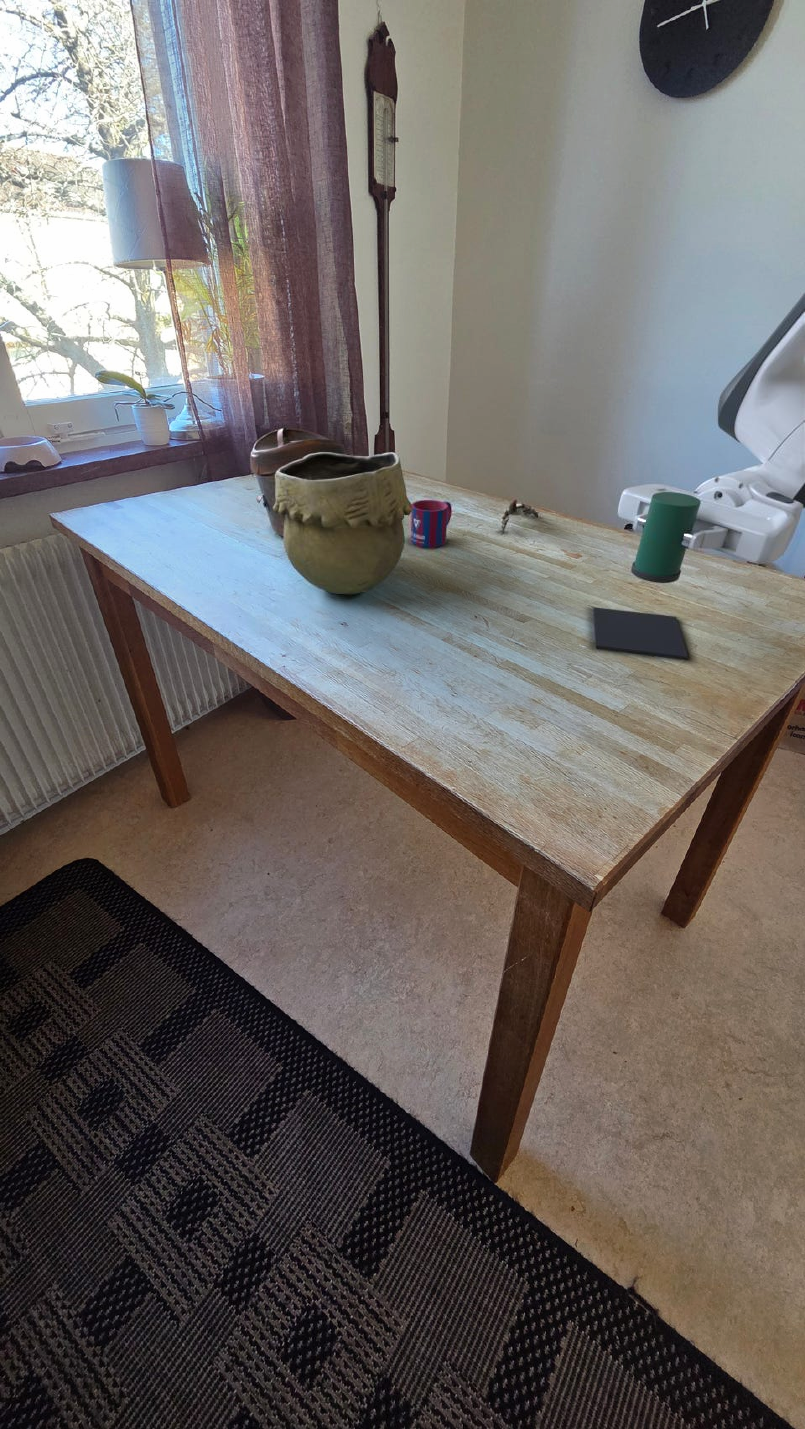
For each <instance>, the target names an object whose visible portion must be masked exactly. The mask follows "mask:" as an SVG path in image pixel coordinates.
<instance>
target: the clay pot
mask: <svg viewBox="0 0 805 1429" xmlns="http://www.w3.org/2000/svg"><path fill="white" fill-rule="evenodd" d="M275 483H276V485H275V494H276V503H275V505H274V507H273V511H274V513H278V512H279V513H280V515H282V516H284V515H285V522H284V536H283V547H284V550H285V553H286V556H287V558H288V560H289V562H290V564H291V566H292V567H293V569H295V570H296V572H297V573H298V574H299V575H300V576H301V577H302V578H304V580H306V582H308V583H309V584H311V585H312V586H314V587H316V588H318V589H320V590H322V591H325V592H328V593H331V594H334V595H335V594H336V595H357V594H362V593H364V592H367V591H371V590H372V589H374V588H376V587H378V586H379V585H381V584H382V583H383V582H384V581H385V580H386V579H387V578H388V577H389V576H390V575H391V574H392V572H393V571H394V570H395V568H397V565H398V564H399V562H400V559H401V557H402V554H403V551H404V548H405V545H406V544H405V543H406V538H405V537H406V536H405V528H404V523H403V521H404V519H405V516H411V511H412V502H411V501H410V499H409V498H408V496H407V495H408V494H407V487H406V484H405V479H404V475H403V469H402V464H401V458H400V457H399V456H398V454H397V453H396V452H384V453H381V454H374V455H368V456H365V455H364V456H363V455H348V454H347V455H343V454H336V453H331V452H319V453H314V454H309V455H307V456H305V457H304V458H303V459H300V460H296V461H293V462H291V463H289V464H287V465H285V466H283V467H281V468H279V469H278V470H277V472H276V474H275Z"/></svg>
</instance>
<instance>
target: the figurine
mask: <svg viewBox="0 0 805 1429" xmlns="http://www.w3.org/2000/svg"><path fill="white" fill-rule="evenodd" d="M539 513H540V511H536V510H535V509H534V508H532V506H531V505H529V504H527V503H523V502H519V503H518V500H517V499H514V500H513V501H512V502H511V503H510V504H509V506H508V509H506V510H505V511H504V513H503V515H502V516H500V518H499V519H500V520H499V521H500V523H501V530H500V532H501V533H504V532H505V529H506V527H507V525H508V522H509V520H510V516H521V515H524V516H525V517H526V516H530V515H533V516H534V517H535V518H539Z"/></svg>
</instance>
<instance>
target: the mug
mask: <svg viewBox="0 0 805 1429" xmlns="http://www.w3.org/2000/svg"><path fill="white" fill-rule="evenodd" d="M411 504H412V511H411V514H410V543H411V544H412V545H413V546H415V547H419V548H427V549H432V548H433V549H434V548H440V547H442V546H444V545H445V544H446V543H447V528H448V525H449V523H450V521H451V519H452V514H453V513H452V511H453V510H452V509H453V508H452V504H451V502H449V501H445V500H444V501H440V500H436V499H421V500H416V501H414V502H411Z"/></svg>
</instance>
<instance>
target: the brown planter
mask: <svg viewBox="0 0 805 1429" xmlns="http://www.w3.org/2000/svg"><path fill="white" fill-rule="evenodd" d="M319 452H331V453H336V454H343V455H348V453H347V449H346V448H345V446H344V444H343V443H341V442H339V441H336V440H333V439H330V438H328V437H326V436H323V435H321V434H319V433H315V432H312V431H309V430H305V429H301V428H292V427H291V428H290V427H288V428H287V427H285V426H284V427H283V428H279V429H276V430H273V431H271V432H268V433H267V434H265V435H263V436H261V437H260V438H259V439H258V440H257V441H256V442H255V443H254V445H253V448H252V450H251V452H250V457H249V458H250V459H249V469H250V470H251V476H252V477H254V475H255V476H256V480H257V484H258V486H259V490H260V493H261V494H260V495H259V496H258V497H257V498H256V502H257V503H258V504H260V503H261V501H262V505H263V507H264V508H265V509H266V514H267V516H268V519H269V523H270V526H271V528H272V530H273V532H274V533H276V534H277V535H279V536H282V537H284V522H285V515H284V516H282V515H280V513H279V512H278V513H274V511H273V507H274V505H275V503H276V494H275V485H276V483H275V474H276V472H277V470H278V469H279V468H281V467H283V466H285V465H287V464H289V463H291V462H293V461H296V460H300V459H303V458H304V457H305V456H307V455H309V454H314V453H319Z"/></svg>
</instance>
